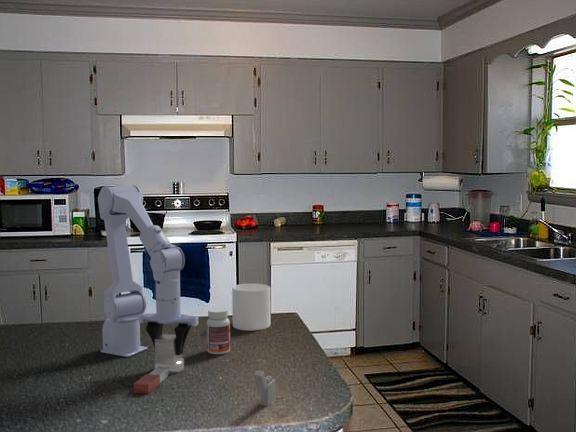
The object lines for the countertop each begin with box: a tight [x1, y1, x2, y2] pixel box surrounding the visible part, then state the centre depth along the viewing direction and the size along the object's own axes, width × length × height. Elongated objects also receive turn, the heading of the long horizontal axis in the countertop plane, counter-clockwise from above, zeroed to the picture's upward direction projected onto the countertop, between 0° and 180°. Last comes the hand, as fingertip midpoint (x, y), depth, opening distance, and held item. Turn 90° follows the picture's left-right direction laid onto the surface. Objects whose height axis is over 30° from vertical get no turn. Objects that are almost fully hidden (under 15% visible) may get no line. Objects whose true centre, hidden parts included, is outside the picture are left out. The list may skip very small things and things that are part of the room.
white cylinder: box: [231, 283, 272, 332], centre depth 182 cm, size 12×12×12 cm
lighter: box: [253, 369, 277, 407], centre depth 122 cm, size 7×2×8 cm, turn 157°
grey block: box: [154, 332, 183, 365], centre depth 143 cm, size 5×5×6 cm
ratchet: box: [133, 357, 185, 395], centre depth 138 cm, size 19×7×5 cm, turn 168°
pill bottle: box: [206, 307, 231, 355], centre depth 157 cm, size 6×6×11 cm
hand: (169, 353), depth 143 cm, fingers closed on grey block, 5 cm apart
